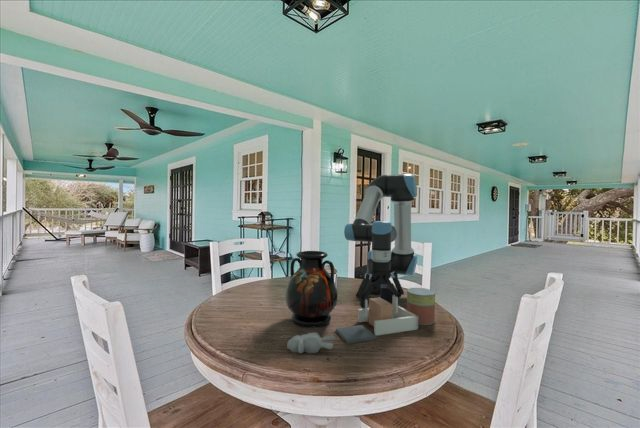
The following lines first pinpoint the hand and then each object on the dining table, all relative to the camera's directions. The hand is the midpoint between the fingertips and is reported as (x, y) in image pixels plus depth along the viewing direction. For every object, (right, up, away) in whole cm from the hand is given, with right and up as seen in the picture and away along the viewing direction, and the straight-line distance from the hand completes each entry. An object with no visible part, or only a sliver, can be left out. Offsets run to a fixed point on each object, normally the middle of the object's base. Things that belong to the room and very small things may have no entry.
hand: (380, 314), depth 119 cm
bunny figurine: (-27, -5, -20) cm, 34 cm away
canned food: (+19, -5, +8) cm, 21 cm away
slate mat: (-11, -5, -8) cm, 14 cm away
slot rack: (+3, -5, +1) cm, 6 cm away
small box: (+8, -5, +23) cm, 25 cm away
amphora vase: (-27, -5, +6) cm, 28 cm away
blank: (0, -5, 0) cm, 5 cm away
